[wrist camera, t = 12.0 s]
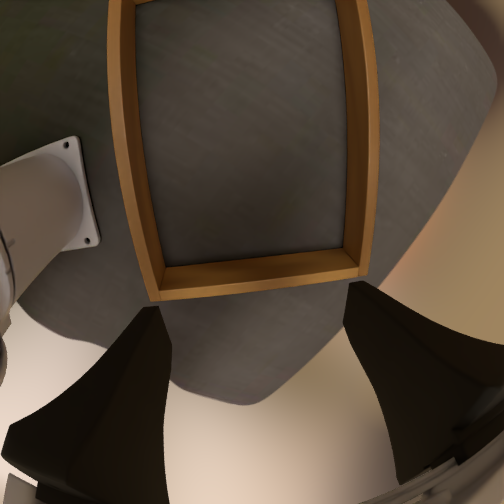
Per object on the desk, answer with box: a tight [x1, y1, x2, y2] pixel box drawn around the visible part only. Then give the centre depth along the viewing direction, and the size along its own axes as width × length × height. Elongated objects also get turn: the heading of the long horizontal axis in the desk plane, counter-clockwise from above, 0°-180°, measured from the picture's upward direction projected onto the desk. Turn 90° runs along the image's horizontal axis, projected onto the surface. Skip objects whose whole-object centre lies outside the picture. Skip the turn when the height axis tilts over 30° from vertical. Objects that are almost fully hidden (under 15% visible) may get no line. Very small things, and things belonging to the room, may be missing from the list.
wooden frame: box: [107, 0, 380, 302], centre depth 14 cm, size 15×21×3 cm
